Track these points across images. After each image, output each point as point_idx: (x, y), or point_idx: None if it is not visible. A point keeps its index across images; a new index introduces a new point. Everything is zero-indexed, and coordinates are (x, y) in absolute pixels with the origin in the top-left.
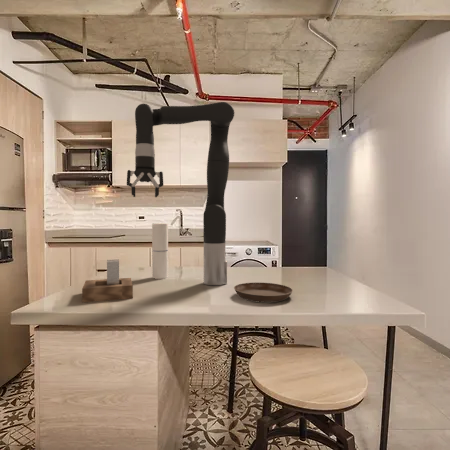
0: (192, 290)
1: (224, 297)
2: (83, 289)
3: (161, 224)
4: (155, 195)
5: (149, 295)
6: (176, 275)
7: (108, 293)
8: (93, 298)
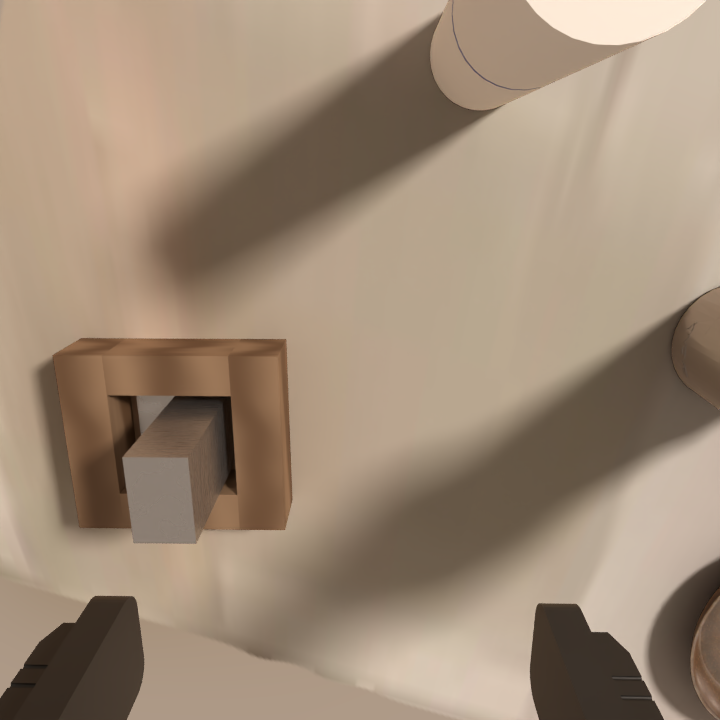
0: (564, 451)
1: (643, 595)
2: (86, 525)
3: (612, 46)
4: (537, 700)
5: (362, 476)
6: None
7: None
8: None
